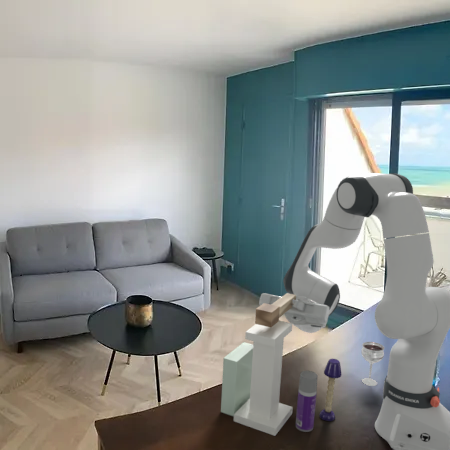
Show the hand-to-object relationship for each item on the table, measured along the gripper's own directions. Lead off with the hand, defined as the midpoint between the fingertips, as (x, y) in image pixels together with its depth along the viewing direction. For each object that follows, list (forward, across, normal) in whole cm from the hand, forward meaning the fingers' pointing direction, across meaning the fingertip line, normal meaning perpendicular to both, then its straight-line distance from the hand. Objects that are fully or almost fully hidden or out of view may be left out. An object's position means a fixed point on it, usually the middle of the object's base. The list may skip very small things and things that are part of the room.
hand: (286, 301), depth 144 cm
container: (-8, +11, +31) cm, 33 cm away
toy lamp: (-15, +15, +27) cm, 34 cm away
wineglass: (-37, +20, +14) cm, 44 cm away
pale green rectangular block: (-8, -9, +30) cm, 33 cm away
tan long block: (+4, 0, +5) cm, 7 cm away
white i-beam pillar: (-6, 0, +31) cm, 32 cm away
